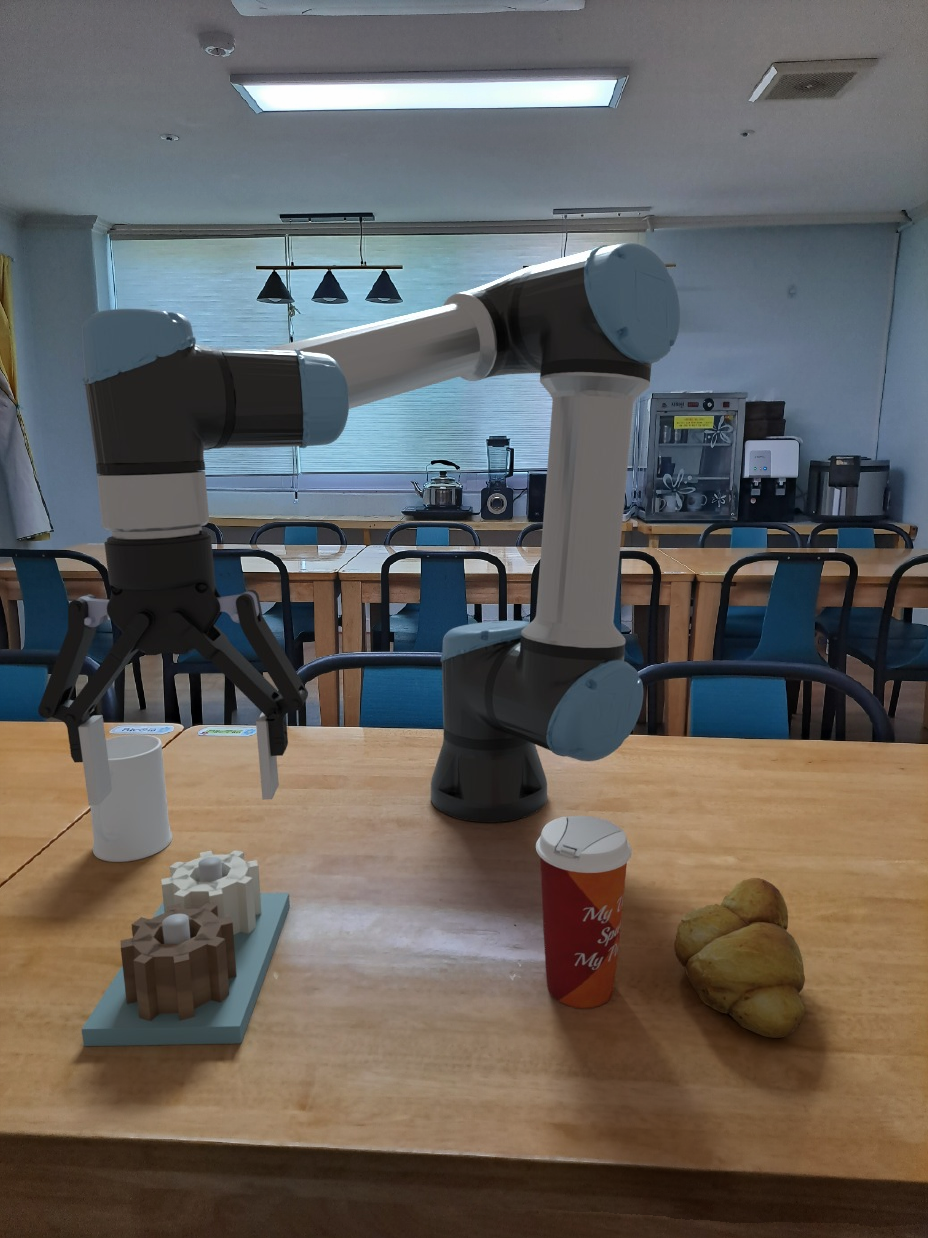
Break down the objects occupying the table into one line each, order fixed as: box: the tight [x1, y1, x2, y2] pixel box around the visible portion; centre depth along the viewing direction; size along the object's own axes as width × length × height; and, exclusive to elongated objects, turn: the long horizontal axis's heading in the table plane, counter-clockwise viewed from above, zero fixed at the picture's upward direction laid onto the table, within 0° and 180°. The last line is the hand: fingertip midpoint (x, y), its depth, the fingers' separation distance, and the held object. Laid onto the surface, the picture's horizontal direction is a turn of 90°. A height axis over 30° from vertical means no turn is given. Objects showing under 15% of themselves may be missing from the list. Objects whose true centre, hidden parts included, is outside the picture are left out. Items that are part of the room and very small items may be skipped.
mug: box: [89, 734, 173, 863], centre depth 91 cm, size 12×8×12 cm
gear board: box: [81, 857, 291, 1047], centre depth 70 cm, size 12×19×8 cm, turn 1°
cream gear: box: [160, 849, 262, 935], centre depth 75 cm, size 8×8×5 cm
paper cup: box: [535, 815, 632, 1010], centre depth 67 cm, size 8×8×14 cm
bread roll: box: [673, 877, 806, 1039], centre depth 66 cm, size 13×10×8 cm
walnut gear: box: [120, 903, 237, 1021], centre depth 66 cm, size 8×8×5 cm
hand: (186, 795), depth 65 cm, fingers open, 13 cm apart
